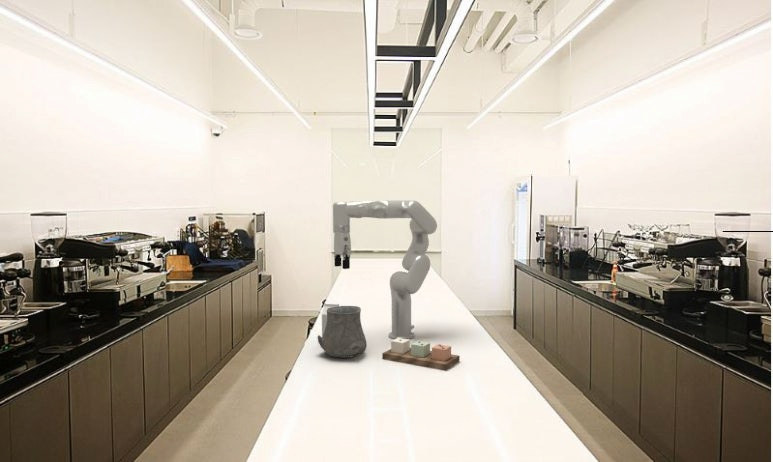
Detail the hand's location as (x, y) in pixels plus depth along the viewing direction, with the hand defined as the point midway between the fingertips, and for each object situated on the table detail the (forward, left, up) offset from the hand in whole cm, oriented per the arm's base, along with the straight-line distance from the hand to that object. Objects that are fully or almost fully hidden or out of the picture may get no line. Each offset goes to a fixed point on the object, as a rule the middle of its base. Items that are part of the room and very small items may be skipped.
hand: (342, 267), depth 228 cm
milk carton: (+2, -5, -36) cm, 36 cm away
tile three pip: (+1, +50, -33) cm, 60 cm away
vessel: (+11, +9, -36) cm, 39 cm away
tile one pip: (+1, +31, -33) cm, 45 cm away
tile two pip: (+1, +40, -33) cm, 52 cm away
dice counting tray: (+1, +40, -36) cm, 54 cm away
